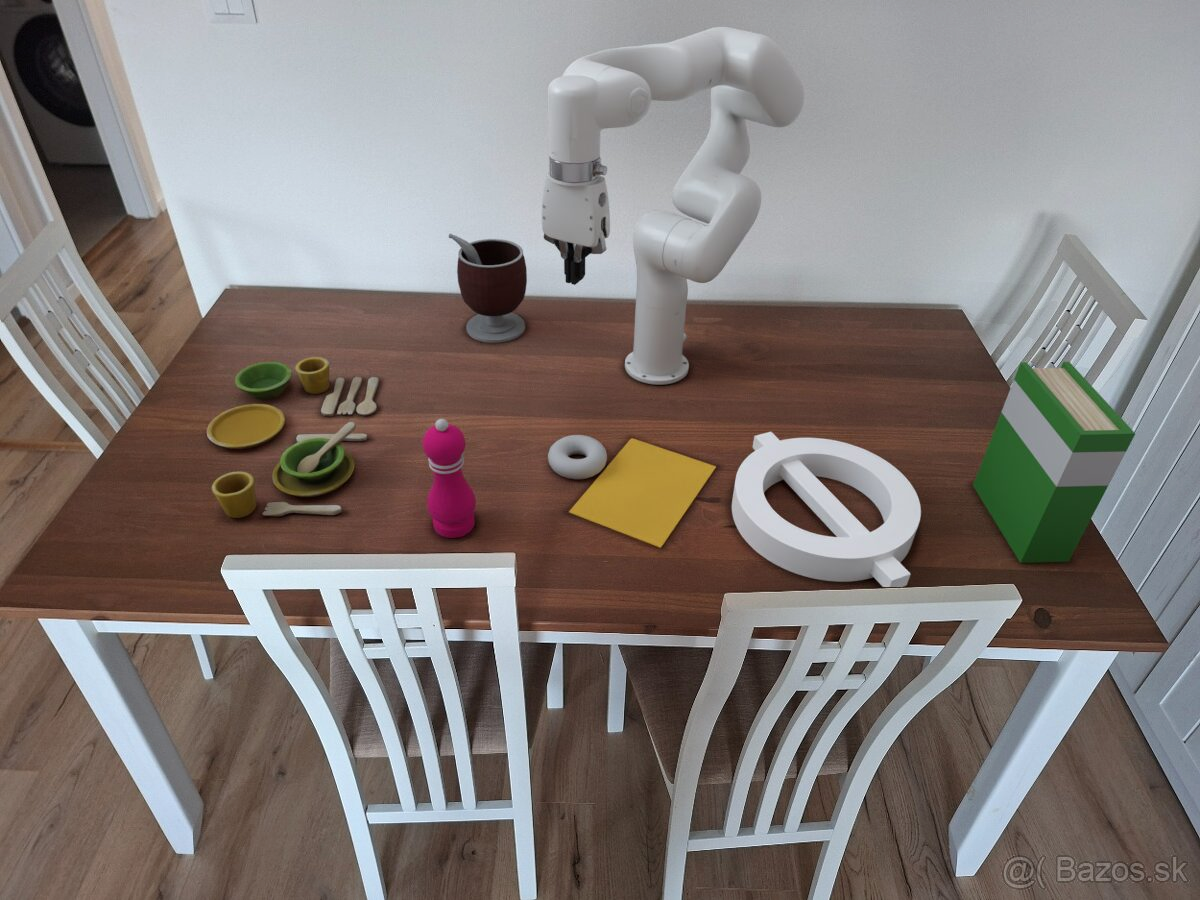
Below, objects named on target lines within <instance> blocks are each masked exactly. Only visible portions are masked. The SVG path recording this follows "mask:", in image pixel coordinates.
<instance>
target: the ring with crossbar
mask: <svg viewBox="0 0 1200 900" xmlns="http://www.w3.org/2000/svg"><path fill="white" fill-rule="evenodd" d="M752 450H754V451H753V452H751V453H750V454H748V456H746V457H745V459H744V460H743V461H742V462H741V464H740V466H739V467H738V470H737V472H736V475H735V480H734V486H733V494H732V501H731V515H732V519H733V522H734V525H735V527H736V529H737V530H738V532H739V534H740V535H741V537H742V538H743V540H744V541H745V542H746V543H747V544H748V545H749V546H750V547H751V548H752V549H753V550H754V551H755V552H756V553H757V554H758V555H760V556H761V557H763V558H764V559H766V560H767V561H769V562H770V563H772V564H774V565H775V566H777V567H779V568H782V569H784V570H785V571H787V572H790V573H793V574H796V575H799V576H802V577H806V578H809V579H815V580H820V581H826V582H840V583H841V582H843V583H845V582H858V581H864V580H868V579H869V580H870V579H872V578H874V579H875V581H876V582H877V583H878V584H879V585H880V586H881V587H882V588H883V587H901V588H903V587H906V586H907V585H908V582H909V580H910V577H911V572H910V571H908V569H906V567H905V566H904V565H903V564H902V562H903V561H904V560H905V559H906V557H907V556H908V554H909V553H910V550H911V548H912V544H913V542H914V539H915V536H916V533H917V530H918V528H919V526H920V525H919V524H920V522H921V516H922V509H921V507H922V506H921V503H920V502H921V501H920V499H919V497H918V494H917V491H916V490H915V488H914V486H913V485H912V483H911V482H910V481H909V479H907V477H906V476H905V475H904V474H903V473H902V472H901V471H900V470H899V469H898V468H896V467H895V466H894V465H893V464H891V463H890V462H888V461H887V460H885V459H884V458H883V457H880V456H879V455H877V454H875V453H874V452H871V451H870V450H867V449H866V448H865V449H864V448H862V447H860V446H857V445H853V444H851V443H848V442H843V441H839V440H834V439H828V438H821V437H794V438H785V439H781V440H780V439H779V438H778V437H777V436H776V435H775V434H774V433H773V431H768V432H764V433H760V434H756V435H754V436H753V442H752ZM817 477H820V478H827V479H831V480H834V481H837V482H839V483H840V482H841V483H842V484H845V485H848V486H850V487H852V488H854V489H855V490H857V491H859V492H861V494H863V495H865V496H866V497H867V498H868V499H869V500H870V501H871V502H872V503H873V504H874V505H875V507H876V508H877V509H878V511H879V513H880V515H881V517H882V520H883V524H881V525H880V526H879V527H877V528H876V529H873V530H872V531H869V529H868V528H867V527H865V526H864V525H863V524H862V522H860V521H859V520H858V518H856V516H854V514H853V513H852V512H851V511H850V510H849V509H848V508H847V507H846V506H845V505H844V504H843V503H842V502H841V501H840V500H839V499H838V498H837V497H836V496H835V495H834V494H833V493H832V492H831V491H830V490H829V489H828V488H827V487H826V486H825V485H824V484H823V483H822V482H821V481H820V480H819V478H817ZM781 481H784V482H785V483H786V484H787V485H788V486H789V487H790V488H791V489H792V490H793V491H794V492H795V493H796V495H797V496H798V497H799V498H800V499H801V500H802V501H803V502H804V503H805V504H806V505H807V506H808V508H810V509H811V511H812V512H813V513H814V514H815V515H816V516H817V517H818V518H819V519H820V521H822V522H823V523H824V525H825V526H826V527H827V528H828V529H829V530H830V531H831V532H832V533H833V534H834V535H835V536H829V535H823V534H818V533H816V532H815V533H814V532H811V531H808V530H806V529H802V528H801V527H798V526H797V525H794V524H792V523H791V522H789V521H787V520H786V519H785V518H783V517H782V516H781V515H779V514H778V513H777V512H776V511H775V510H774V509H773V507H772V506H771V505H770V503H769V502H768V500H767V498H766V496H765V492H766V491H767V490H768V489H769V488H770V487H772V486H773V485H775V484H776V483H779V482H781Z"/></svg>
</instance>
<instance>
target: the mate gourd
mask: <svg viewBox="0 0 1200 900" xmlns="http://www.w3.org/2000/svg"><path fill="white" fill-rule="evenodd" d="M448 238H449V239H452V240H453V241H454V242H455V243H457V245H459V247H460V249H459V250H458V253H457V254H458V257H457V258H458V259H457V266H456V267H457V268H456V269H457V270H456V274H457V283H458V287H459V291H460V295H461V297H462V301H463V302H464V303H465V305H466V306H467V307H468V308H469V309H471V311H473V312H474V313H475V314H476V315H474V316H472V317H471V318H470V319H469V320H468V321H467V322H466V326H465V327H466V333H467V335H468V336H470V337H471V338H472V339H474V340H476V341H479V342H481V343H482V342H483V343H488V344H498V343H499V344H500V343H505V342H510V341H512V340H515V339H517V338H519V337H520V336H521V335H523V333H524V332H525V329H526V324H525V321H524V318H522V317H521V316H520V315H518V314H516V313H513V312H514V311H515V310H517V309H518V307H519V306H520V305H521V303H523V301H524V299H525V297H526V292H527V285H528V284H527V283H528V274H527V264H526V263H527V262H526V258H525V256H524V249H523V248H522V246H521V245H519V244H518V243H516V242H514V241H511V240H507V239H502V238H501V239H500V238H486V239H478V240H474V241H471V242H469V241H468V240H465V239H463V238H461V237H460V236H458V235H456V234H455V235H454V234H452V233H448Z"/></svg>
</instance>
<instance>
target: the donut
mask: <svg viewBox="0 0 1200 900" xmlns="http://www.w3.org/2000/svg"><path fill="white" fill-rule="evenodd" d="M573 455H581V456H584V457H583V458H571V456H573ZM547 461H548V465H549V466H550V468H551V469H552V470H553V472H554V473H556V474H557V475H558V476H560V477H563V478H565V479H569V480H586V479H589V478H593V477H594V476H596V475H598V474H599V473H601V472H602V471H603V470H604V469H605V468H606V465H607V461H608V455H607V450H606V448H605V446H604V445H603V444H602V442H600V441H599V440H597V439H595V438H594V437H592V436H588V435H585V434H583V435H582V434H571V435H568V436H564V437H562V438H559V439H558V440H555V442H554V443H553V444H552V445H551V446H550V447H549V450H548V452H547Z"/></svg>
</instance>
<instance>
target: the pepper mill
mask: <svg viewBox="0 0 1200 900" xmlns="http://www.w3.org/2000/svg"><path fill="white" fill-rule="evenodd" d="M466 445H467V444H466V438H465V434H464V433H463V431H462V430H461V429H460V428H459V427H458V426H456V425H454V424H451V423H449V422H448V420H447V419H445V418H439V419H437V420H436V421H435V423H434V425H433V426H430V428H428V430H427V431H426V432H425V433H424V436H423V438H422V450H423V452H424V454H425V455H426V457H427V460H428V466H429V468H430V470H431V471H433V483H432V485H431V488H430V490H429V492H428V494H427V495H428V496H427V500H426V501H427V502H426V503H427V505H426V506H427V511H428V513H429V515H430V517H431V518H432V525H433V530H434V531H435V532H436V534H437V535H439V536H441V537H443V538H447V539H457V538H462V537H464V536H466V535H467V534H469V533H470V532H471V531H472V530H473V529H474V527H475V523H476V521H475V513H474V512H475V510H476V508H477V507H476V505H477V501H476V496H475V495H476V494H475V492H474V491H473V488H472V487H471V486H470V484H469V482H468V481H467V480H466V478H465V476H464V474H463V470H462V467H463V466H464V464H465V459H464V452H465V449H466Z"/></svg>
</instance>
